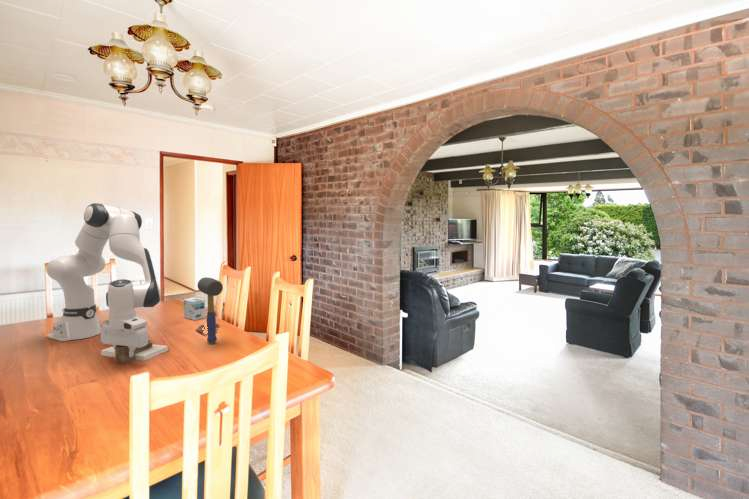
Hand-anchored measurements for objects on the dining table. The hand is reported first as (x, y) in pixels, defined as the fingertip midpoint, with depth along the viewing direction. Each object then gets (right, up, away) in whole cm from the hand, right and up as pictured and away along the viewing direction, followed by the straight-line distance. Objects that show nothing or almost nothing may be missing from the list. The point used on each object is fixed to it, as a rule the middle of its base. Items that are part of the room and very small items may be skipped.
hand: (125, 355), depth 147 cm
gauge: (+1, -2, +5) cm, 6 cm away
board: (-3, -2, +10) cm, 11 cm away
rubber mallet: (+25, -1, +23) cm, 33 cm away
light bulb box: (-3, +3, +63) cm, 63 cm away
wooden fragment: (+13, +1, +44) cm, 46 cm away
